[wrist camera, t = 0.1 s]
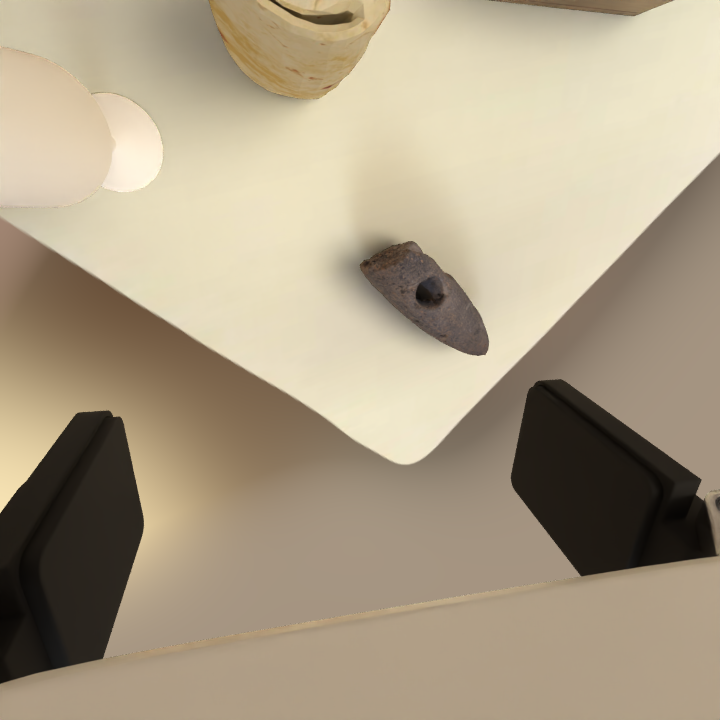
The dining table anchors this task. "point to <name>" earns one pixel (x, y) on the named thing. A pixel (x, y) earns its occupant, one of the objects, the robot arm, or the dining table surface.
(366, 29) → the food model
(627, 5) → the cabinet
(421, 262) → the perforated stone tool
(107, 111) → the champagne flute
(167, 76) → the dining table surface
